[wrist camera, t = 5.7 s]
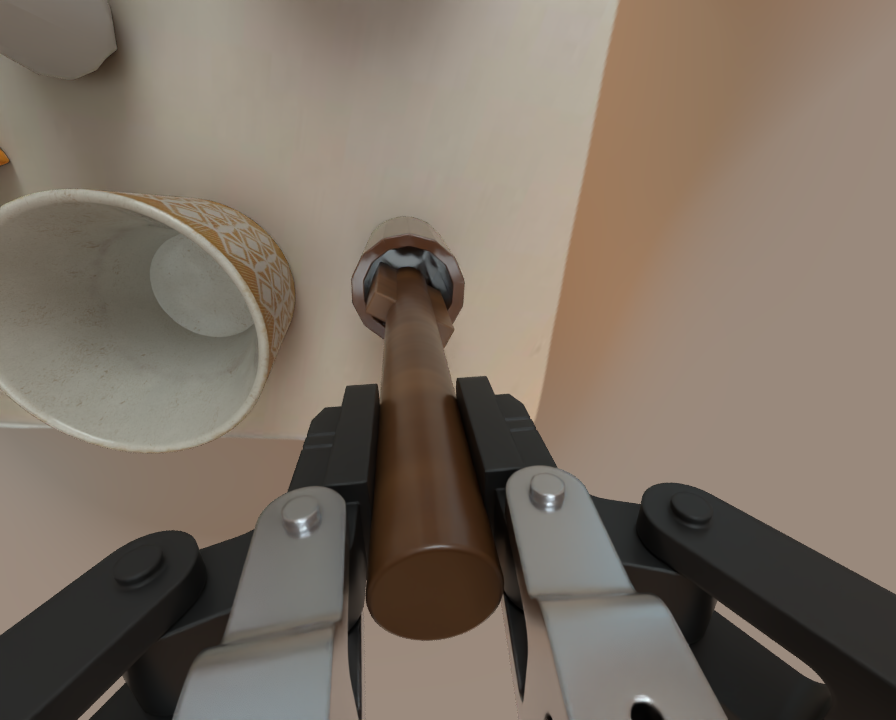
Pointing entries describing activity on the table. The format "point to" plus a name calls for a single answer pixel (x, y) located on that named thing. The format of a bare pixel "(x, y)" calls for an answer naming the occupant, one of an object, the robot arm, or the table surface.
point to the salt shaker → (57, 35)
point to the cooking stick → (424, 478)
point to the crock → (407, 264)
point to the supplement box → (3, 158)
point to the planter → (138, 315)
